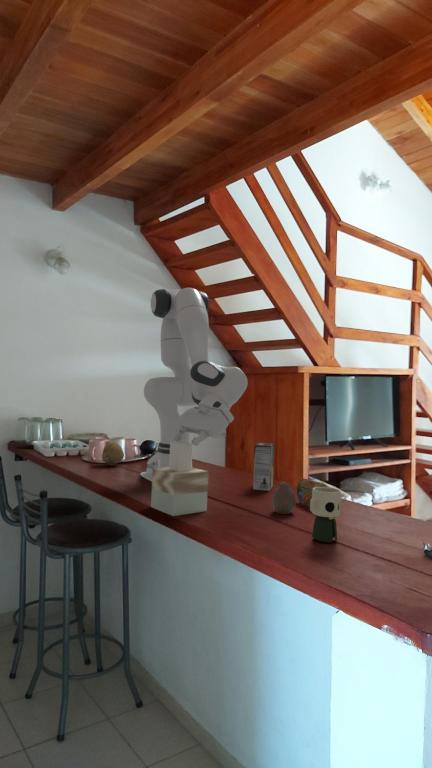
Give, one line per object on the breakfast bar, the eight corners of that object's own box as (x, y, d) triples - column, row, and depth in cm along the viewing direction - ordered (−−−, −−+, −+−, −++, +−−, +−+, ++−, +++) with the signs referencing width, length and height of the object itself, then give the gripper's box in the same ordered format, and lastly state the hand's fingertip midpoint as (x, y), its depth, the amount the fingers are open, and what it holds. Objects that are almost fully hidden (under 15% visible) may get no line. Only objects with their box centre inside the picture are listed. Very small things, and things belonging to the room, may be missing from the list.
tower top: (151, 488, 168) (152, 468, 168) (183, 484, 176) (184, 465, 175) (175, 496, 159) (176, 475, 158) (207, 491, 166) (208, 471, 166)
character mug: (319, 547, 135) (322, 494, 134) (298, 540, 140) (301, 488, 140) (349, 541, 141) (352, 490, 141) (328, 534, 147) (330, 485, 146)
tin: (295, 501, 184) (296, 476, 183) (303, 501, 185) (304, 475, 185) (322, 512, 170) (323, 485, 170) (330, 512, 171) (332, 484, 171)
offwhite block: (169, 468, 168) (170, 442, 168) (181, 467, 171) (182, 441, 171) (178, 471, 164) (179, 444, 164) (191, 470, 167) (192, 443, 167)
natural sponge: (127, 465, 240) (128, 442, 240) (117, 468, 231) (118, 444, 231) (108, 463, 243) (109, 440, 242) (98, 466, 234) (98, 442, 234)
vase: (296, 511, 170) (298, 482, 170) (292, 516, 164) (293, 486, 163) (274, 508, 172) (276, 480, 172) (269, 513, 166) (270, 484, 166)
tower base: (151, 507, 168) (151, 488, 168) (183, 503, 176) (184, 484, 175) (173, 516, 159) (173, 495, 159) (206, 511, 166) (207, 491, 166)
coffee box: (255, 484, 208) (257, 442, 208) (272, 486, 207) (274, 443, 207) (252, 489, 199) (254, 445, 199) (270, 491, 198) (272, 446, 198)
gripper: (187, 399, 181) (160, 430, 175) (226, 404, 165) (198, 439, 159) (198, 413, 184) (172, 444, 178) (237, 419, 167) (210, 453, 162)
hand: (184, 442), depth 168 cm, fingers open, 8 cm apart
